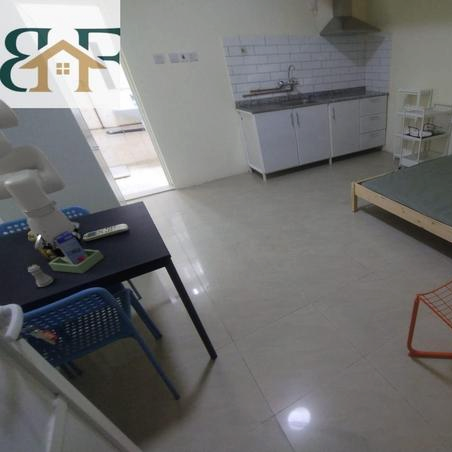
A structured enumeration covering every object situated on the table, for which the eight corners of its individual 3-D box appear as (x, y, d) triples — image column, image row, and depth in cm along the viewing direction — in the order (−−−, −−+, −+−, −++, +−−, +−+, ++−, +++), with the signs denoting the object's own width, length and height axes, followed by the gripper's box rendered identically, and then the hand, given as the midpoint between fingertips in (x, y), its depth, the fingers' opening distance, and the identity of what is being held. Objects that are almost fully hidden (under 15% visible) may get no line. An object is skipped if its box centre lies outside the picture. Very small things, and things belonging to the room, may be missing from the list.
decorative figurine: (39, 259, 115) (15, 229, 106) (61, 247, 121) (39, 218, 113) (56, 262, 112) (31, 232, 104) (76, 250, 119) (55, 220, 110)
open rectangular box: (53, 270, 108) (48, 263, 106) (76, 255, 116) (71, 248, 114) (82, 273, 106) (77, 266, 104) (104, 257, 114) (99, 250, 112)
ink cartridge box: (90, 257, 109) (68, 227, 101) (75, 266, 105) (50, 235, 97) (77, 251, 113) (54, 222, 105) (62, 260, 109) (37, 230, 101)
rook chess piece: (35, 286, 101) (20, 269, 97) (49, 277, 105) (36, 261, 100) (42, 288, 100) (28, 272, 95) (56, 280, 103) (43, 264, 99)
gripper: (56, 198, 105) (82, 237, 115) (4, 223, 91) (39, 265, 101) (72, 199, 104) (97, 238, 114) (22, 224, 90) (55, 266, 99)
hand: (69, 250), depth 107 cm, fingers closed on ink cartridge box, 6 cm apart
